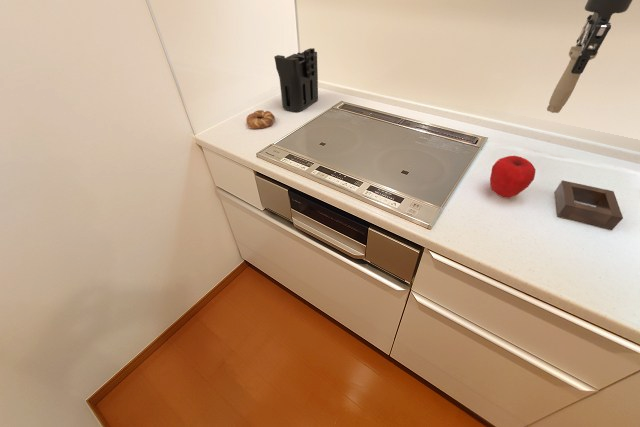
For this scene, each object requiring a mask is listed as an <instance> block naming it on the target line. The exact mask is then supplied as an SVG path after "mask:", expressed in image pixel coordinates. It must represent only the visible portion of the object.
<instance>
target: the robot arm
mask: <svg viewBox="0 0 640 427" xmlns="http://www.w3.org/2000/svg"><path fill="white" fill-rule="evenodd" d="M632 2H633V0H587V2H586V3H585V5H584V11H586V12H590V13H593V14H589V15H588V16H587V18H586V21H585V23H584V25H583V27H582V30H580V31H581V32H580V34H579V36H578V38H577V40H575V41H576V44H575V46H582V48H581V51H580V52H579V56H578V58H577V60H576V62H575V64H574V66H573V68H572V70H571V73H573V74H583V72H584V70H585V69H586V67H587V65H588V63H589V61H590V60H589V59H590V57H592V56H595V55H596V54H597V55H598V53H597V51H598V52H599V49H600V47H601V46H602V44H603V42H604V41H605V39H606V36H607V35H608V33H609V31H611V28H612V23H611V22H610V20H611V17H612V16H613V15H614V14H623V13H626V12H627V11H628V9H629V8H630V6H631V4H632ZM588 47H589V48H590V47H591V48H592V49H588ZM597 55H596V56H597ZM570 60H571V58H570ZM570 60H569V61H568V63H569V62H570Z"/></svg>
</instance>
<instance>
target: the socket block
mask: <svg viewBox="0 0 640 427" xmlns="http://www.w3.org/2000/svg"><path fill="white" fill-rule="evenodd" d="M615 194H616V193H615V191H614V190H610V189H605V188H600V187H597V186H596V187H595V186H592V185H587V184H581V183H577V182H574V181H573V182H572V181H567V180H564V179H563V180H562V179H561V181H560V182H559V184H558V185H557V187H556V189H555V190H554V200H555V209H556V210H555V211H556V217H557V218H560V219H563V220H564V219H565V220H568V221H573V222H576V223H581V224H584V225H588V226H593V227H597V228H599V229H604V230H609V231H613V230H614V229H615V228H616V227H617V226H618V224H620V222H622V220H623V219H624V217H623V213H622V211H621V209H620V205H619V203H618V199H617V196H616V195H615Z"/></svg>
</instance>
